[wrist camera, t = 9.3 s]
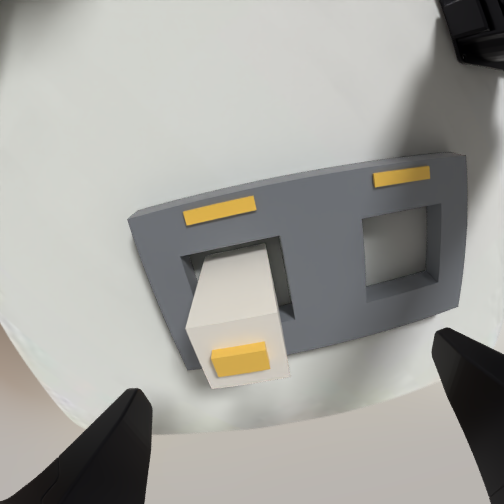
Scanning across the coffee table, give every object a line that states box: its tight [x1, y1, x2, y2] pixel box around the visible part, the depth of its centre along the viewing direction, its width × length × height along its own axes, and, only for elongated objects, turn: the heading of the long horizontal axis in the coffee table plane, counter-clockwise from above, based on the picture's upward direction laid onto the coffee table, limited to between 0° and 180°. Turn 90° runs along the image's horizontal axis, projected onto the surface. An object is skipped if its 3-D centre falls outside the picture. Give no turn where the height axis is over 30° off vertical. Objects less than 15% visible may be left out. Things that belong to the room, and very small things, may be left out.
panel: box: [127, 152, 467, 370], centre depth 19 cm, size 22×12×2 cm, turn 102°
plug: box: [185, 243, 291, 389], centre depth 17 cm, size 4×4×9 cm
